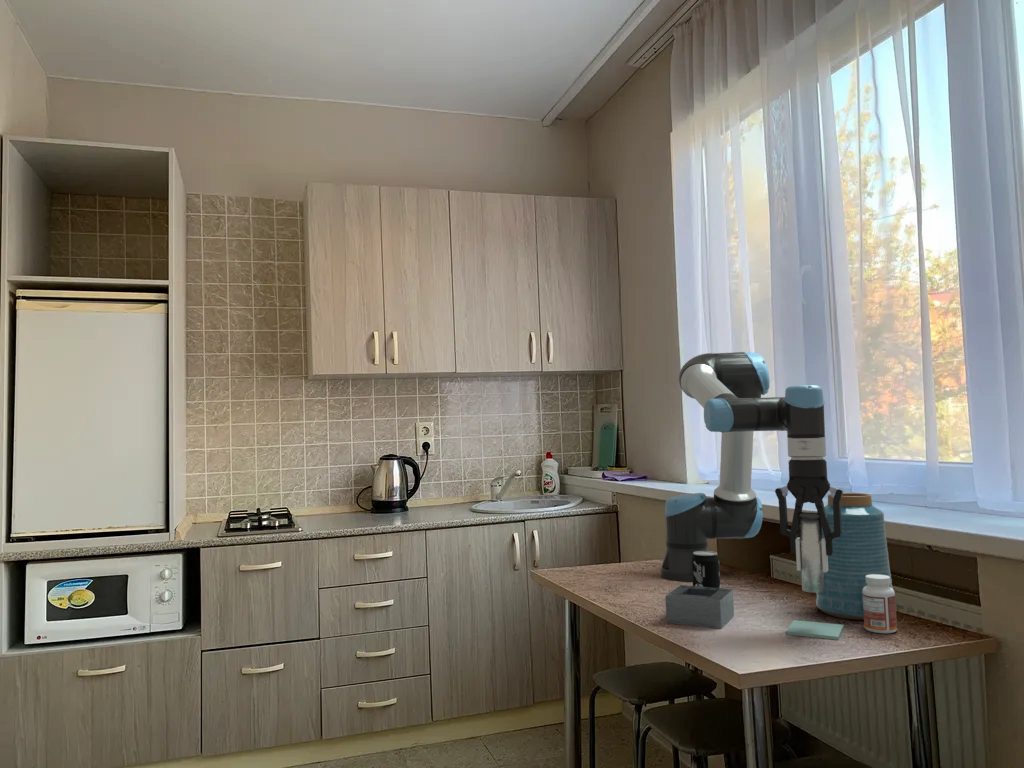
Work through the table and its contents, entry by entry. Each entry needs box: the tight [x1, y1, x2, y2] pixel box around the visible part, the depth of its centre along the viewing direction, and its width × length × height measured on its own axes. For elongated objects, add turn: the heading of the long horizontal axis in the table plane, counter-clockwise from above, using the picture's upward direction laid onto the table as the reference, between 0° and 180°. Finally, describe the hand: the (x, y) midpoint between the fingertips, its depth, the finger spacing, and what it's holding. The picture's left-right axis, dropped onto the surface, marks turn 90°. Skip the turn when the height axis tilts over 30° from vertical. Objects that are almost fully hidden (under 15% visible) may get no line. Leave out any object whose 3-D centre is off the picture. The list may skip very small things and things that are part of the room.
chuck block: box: [665, 584, 735, 630], centre depth 170 cm, size 12×12×6 cm
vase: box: [815, 492, 894, 621], centre depth 174 cm, size 16×16×27 cm
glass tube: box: [798, 510, 825, 594], centre depth 159 cm, size 5×5×16 cm
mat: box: [785, 619, 844, 641], centre depth 158 cm, size 10×10×1 cm
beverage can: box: [692, 550, 721, 588], centre depth 187 cm, size 7×7×12 cm
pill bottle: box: [862, 574, 898, 635], centre depth 158 cm, size 6×6×11 cm
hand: (812, 570), depth 159 cm, fingers closed on glass tube, 4 cm apart
